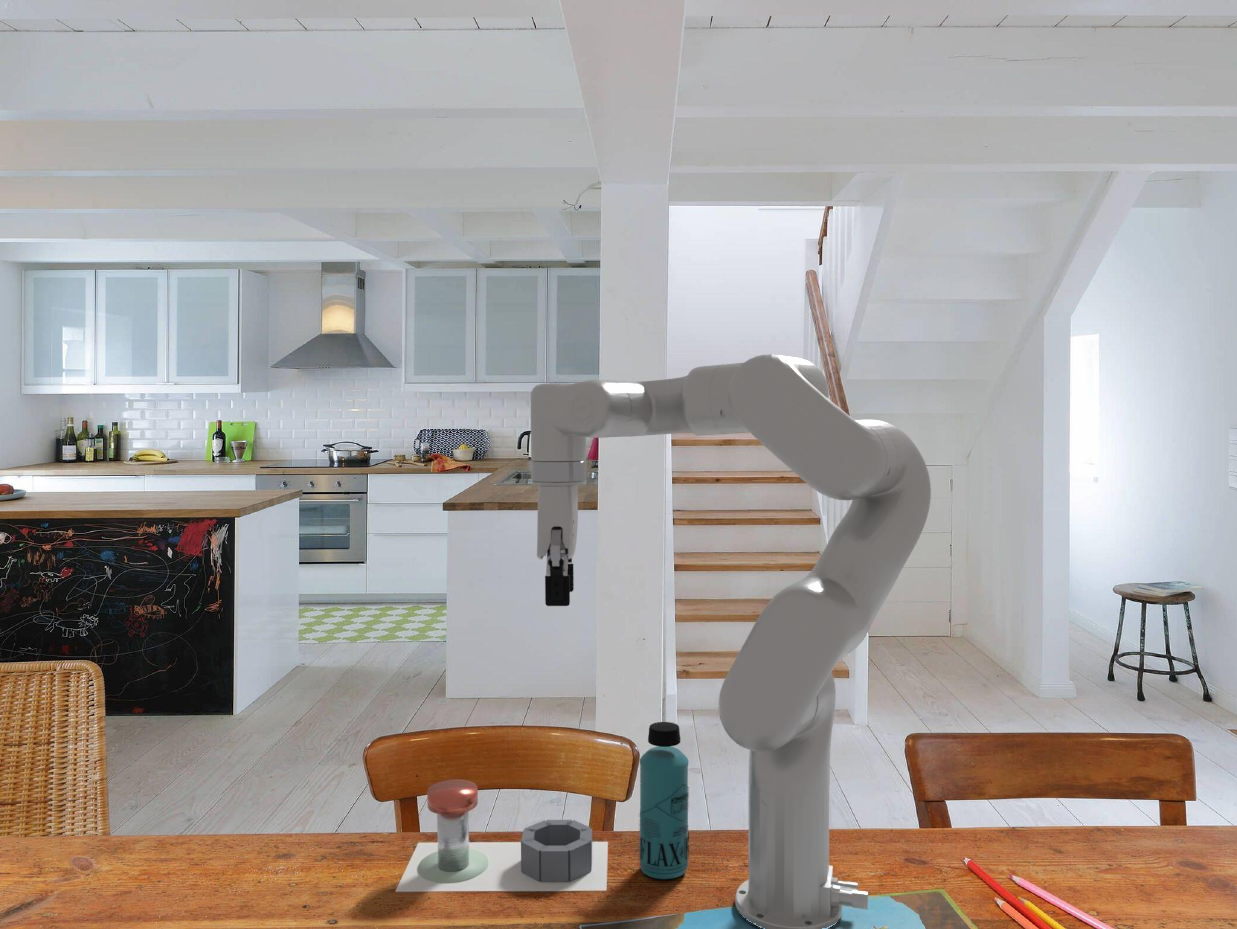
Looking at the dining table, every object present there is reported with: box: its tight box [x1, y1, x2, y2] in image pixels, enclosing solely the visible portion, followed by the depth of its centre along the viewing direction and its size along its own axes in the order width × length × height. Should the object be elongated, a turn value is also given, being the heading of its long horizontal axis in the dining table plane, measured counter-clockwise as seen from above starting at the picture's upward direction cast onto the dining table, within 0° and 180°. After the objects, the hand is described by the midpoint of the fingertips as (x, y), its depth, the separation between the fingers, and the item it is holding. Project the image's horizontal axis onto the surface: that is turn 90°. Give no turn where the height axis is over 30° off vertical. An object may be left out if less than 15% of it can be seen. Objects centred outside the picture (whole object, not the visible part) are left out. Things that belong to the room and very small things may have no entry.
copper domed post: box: [426, 778, 479, 872], centre depth 119 cm, size 6×6×10 cm
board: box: [395, 819, 609, 893], centre depth 119 cm, size 26×13×5 cm, turn 90°
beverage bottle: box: [638, 721, 690, 880], centre depth 117 cm, size 6×7×20 cm
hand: (560, 598), depth 126 cm, fingers open, 9 cm apart
